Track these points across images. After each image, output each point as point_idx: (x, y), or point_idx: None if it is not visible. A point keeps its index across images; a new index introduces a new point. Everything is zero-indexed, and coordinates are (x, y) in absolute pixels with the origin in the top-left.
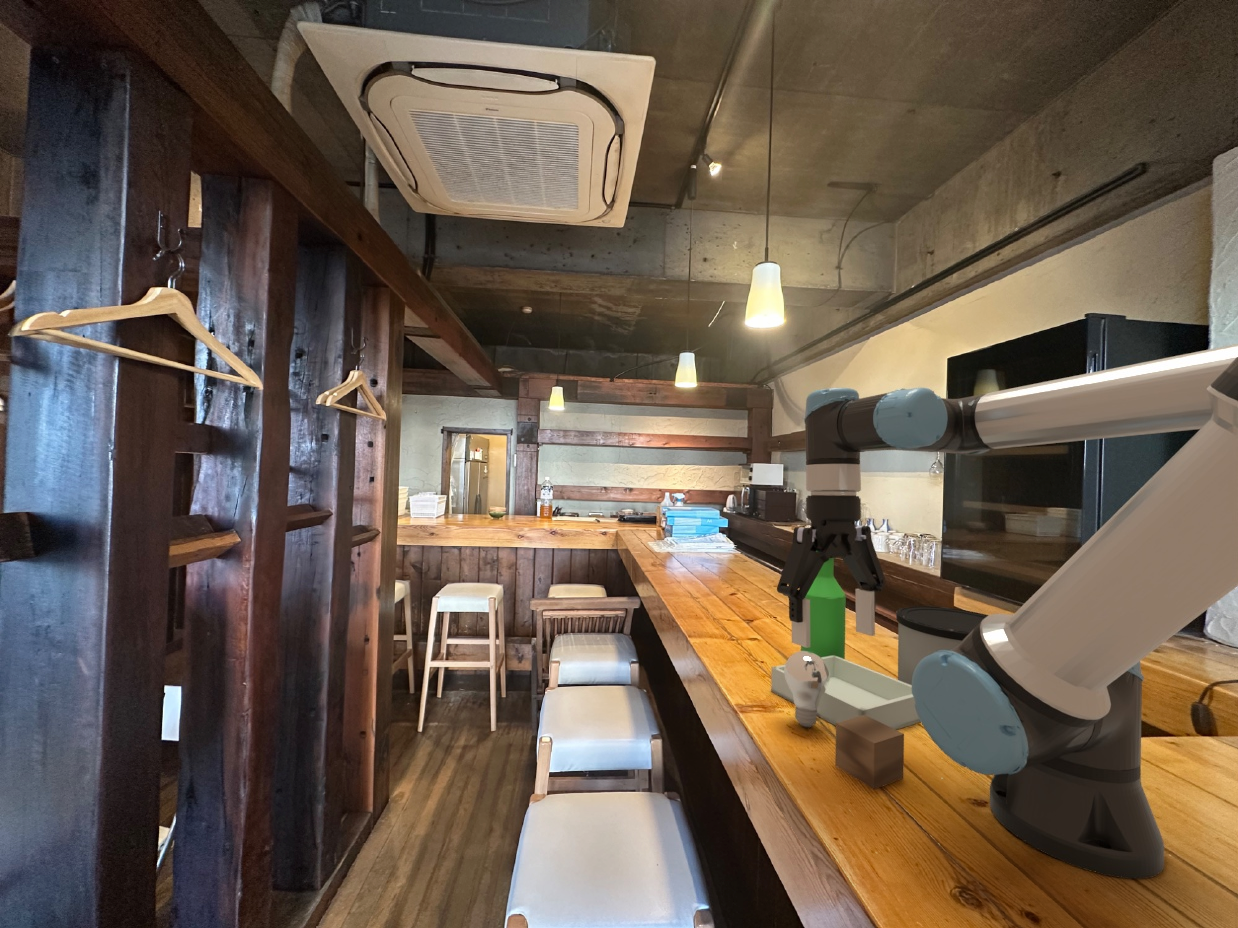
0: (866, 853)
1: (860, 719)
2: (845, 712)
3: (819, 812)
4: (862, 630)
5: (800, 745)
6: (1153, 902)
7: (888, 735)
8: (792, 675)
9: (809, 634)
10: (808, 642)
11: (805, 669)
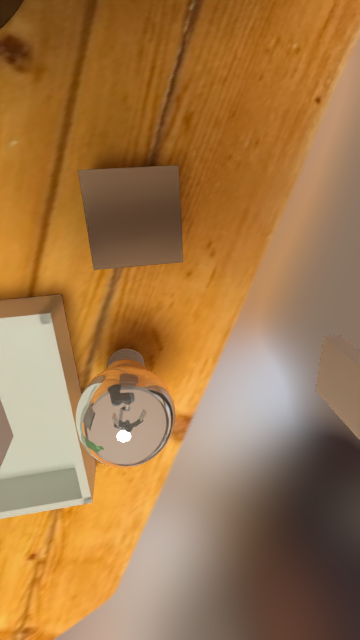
0: (308, 51)
1: (120, 257)
2: (62, 342)
3: (290, 159)
4: (2, 420)
5: (178, 313)
6: None
7: (120, 178)
8: (174, 407)
9: (354, 357)
10: (340, 343)
11: (159, 402)
